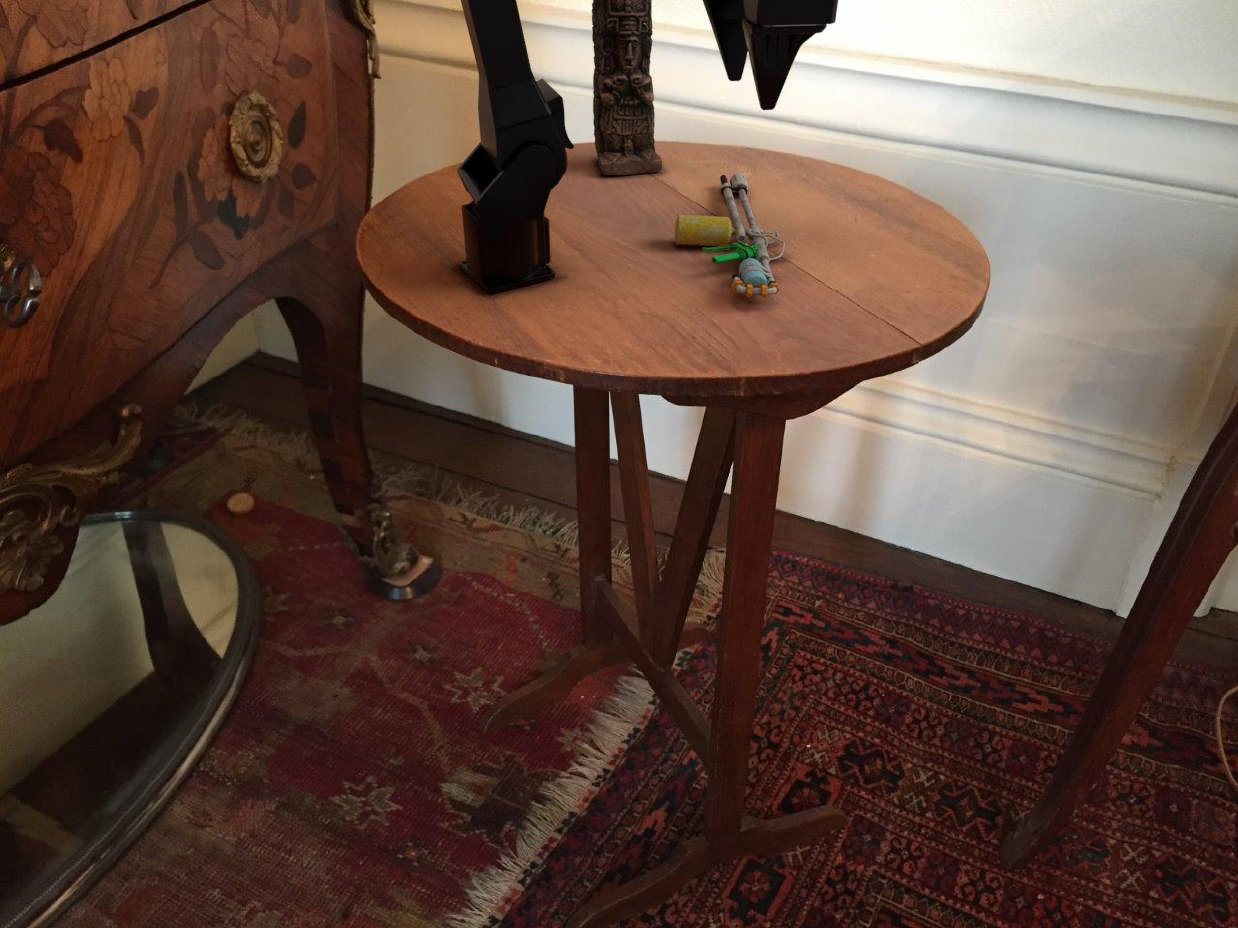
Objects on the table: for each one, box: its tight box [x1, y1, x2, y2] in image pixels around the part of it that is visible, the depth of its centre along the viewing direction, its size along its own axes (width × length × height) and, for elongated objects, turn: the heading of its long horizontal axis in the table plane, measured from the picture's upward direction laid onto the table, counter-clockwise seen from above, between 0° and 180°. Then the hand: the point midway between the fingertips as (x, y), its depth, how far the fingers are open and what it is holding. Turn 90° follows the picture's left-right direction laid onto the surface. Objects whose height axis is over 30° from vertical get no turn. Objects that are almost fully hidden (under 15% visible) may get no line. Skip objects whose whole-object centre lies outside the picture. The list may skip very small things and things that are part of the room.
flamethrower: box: [674, 172, 786, 299], centre depth 90 cm, size 29×3×10 cm
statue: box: [591, 0, 663, 176], centre depth 102 cm, size 7×7×20 cm
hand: (750, 94), depth 82 cm, fingers open, 9 cm apart
